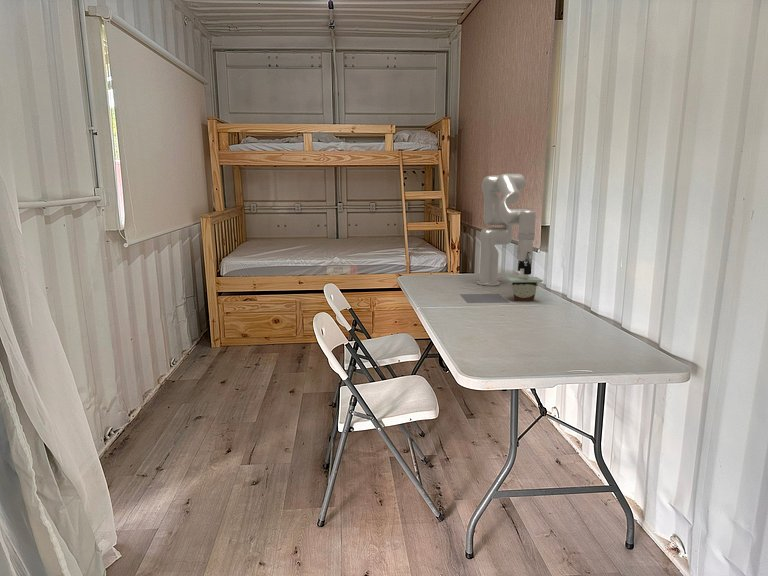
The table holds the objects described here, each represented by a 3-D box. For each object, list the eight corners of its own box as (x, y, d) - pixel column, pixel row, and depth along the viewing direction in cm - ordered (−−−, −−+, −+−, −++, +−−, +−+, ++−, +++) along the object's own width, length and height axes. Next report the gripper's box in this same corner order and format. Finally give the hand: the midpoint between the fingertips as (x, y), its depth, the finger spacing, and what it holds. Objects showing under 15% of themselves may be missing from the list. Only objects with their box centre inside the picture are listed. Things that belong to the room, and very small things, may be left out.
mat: (459, 295, 267) (459, 294, 267) (498, 295, 268) (498, 293, 268) (467, 304, 248) (467, 302, 248) (509, 303, 249) (509, 302, 248)
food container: (534, 300, 257) (535, 279, 255) (537, 302, 251) (538, 282, 249) (508, 299, 258) (509, 279, 256) (510, 302, 252) (511, 281, 250)
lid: (505, 279, 257) (506, 267, 256) (536, 278, 258) (536, 267, 257) (510, 282, 248) (511, 270, 247) (542, 282, 249) (543, 270, 248)
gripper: (513, 235, 257) (511, 269, 260) (523, 238, 240) (521, 275, 243) (528, 235, 257) (526, 269, 261) (540, 238, 240) (537, 275, 244)
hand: (524, 272), depth 252 cm, fingers open, 9 cm apart
